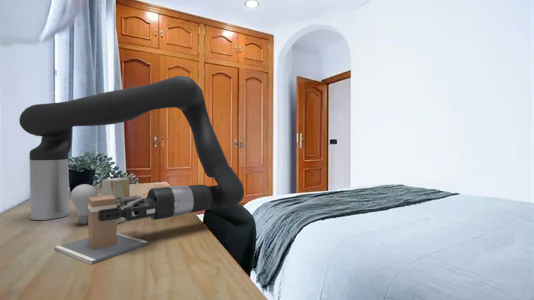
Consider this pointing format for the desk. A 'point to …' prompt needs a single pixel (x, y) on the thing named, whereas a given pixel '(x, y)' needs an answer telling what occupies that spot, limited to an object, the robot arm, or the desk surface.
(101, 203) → the card box
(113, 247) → the mat
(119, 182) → the skincare box
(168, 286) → the desk surface
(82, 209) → the lightbulb
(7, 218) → the desk surface
